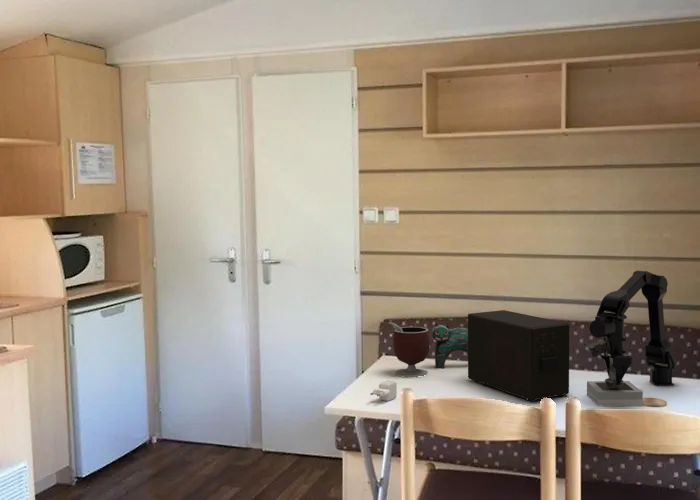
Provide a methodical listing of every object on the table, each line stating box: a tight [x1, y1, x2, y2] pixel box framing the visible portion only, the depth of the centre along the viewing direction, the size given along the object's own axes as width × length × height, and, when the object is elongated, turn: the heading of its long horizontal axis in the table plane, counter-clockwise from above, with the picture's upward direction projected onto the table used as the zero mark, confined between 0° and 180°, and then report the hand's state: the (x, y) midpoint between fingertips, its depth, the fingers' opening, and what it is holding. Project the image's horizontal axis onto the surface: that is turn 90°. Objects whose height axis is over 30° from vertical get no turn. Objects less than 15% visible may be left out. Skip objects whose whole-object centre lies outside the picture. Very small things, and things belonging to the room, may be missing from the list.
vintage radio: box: [467, 309, 570, 402], centre depth 269 cm, size 38×20×25 cm, turn 27°
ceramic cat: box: [431, 317, 468, 369], centre depth 303 cm, size 20×6×20 cm, turn 95°
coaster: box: [643, 397, 668, 408], centre depth 249 cm, size 9×9×1 cm
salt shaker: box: [604, 364, 625, 390], centre depth 252 cm, size 6×6×12 cm
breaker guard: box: [586, 380, 644, 407], centre depth 253 cm, size 14×14×4 cm
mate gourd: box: [388, 321, 431, 378], centre depth 293 cm, size 16×14×20 cm
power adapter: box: [370, 380, 398, 402], centre depth 256 cm, size 11×5×6 cm, turn 144°
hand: (614, 380), depth 253 cm, fingers closed on salt shaker, 8 cm apart
